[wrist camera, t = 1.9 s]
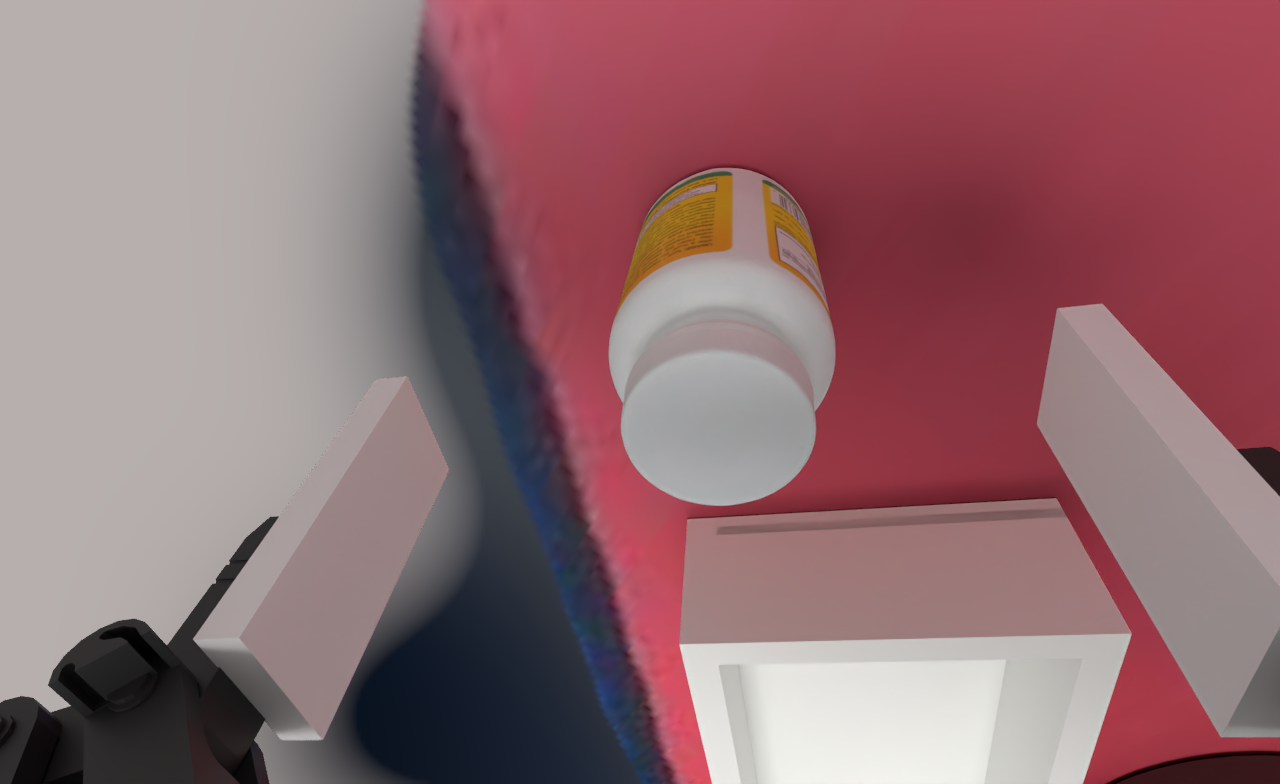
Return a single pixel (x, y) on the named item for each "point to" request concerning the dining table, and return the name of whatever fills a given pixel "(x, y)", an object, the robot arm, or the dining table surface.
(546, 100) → the dining table surface
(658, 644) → the dining table surface
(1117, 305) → the dining table surface
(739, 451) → the supplement bottle
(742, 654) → the tote
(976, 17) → the dining table surface
